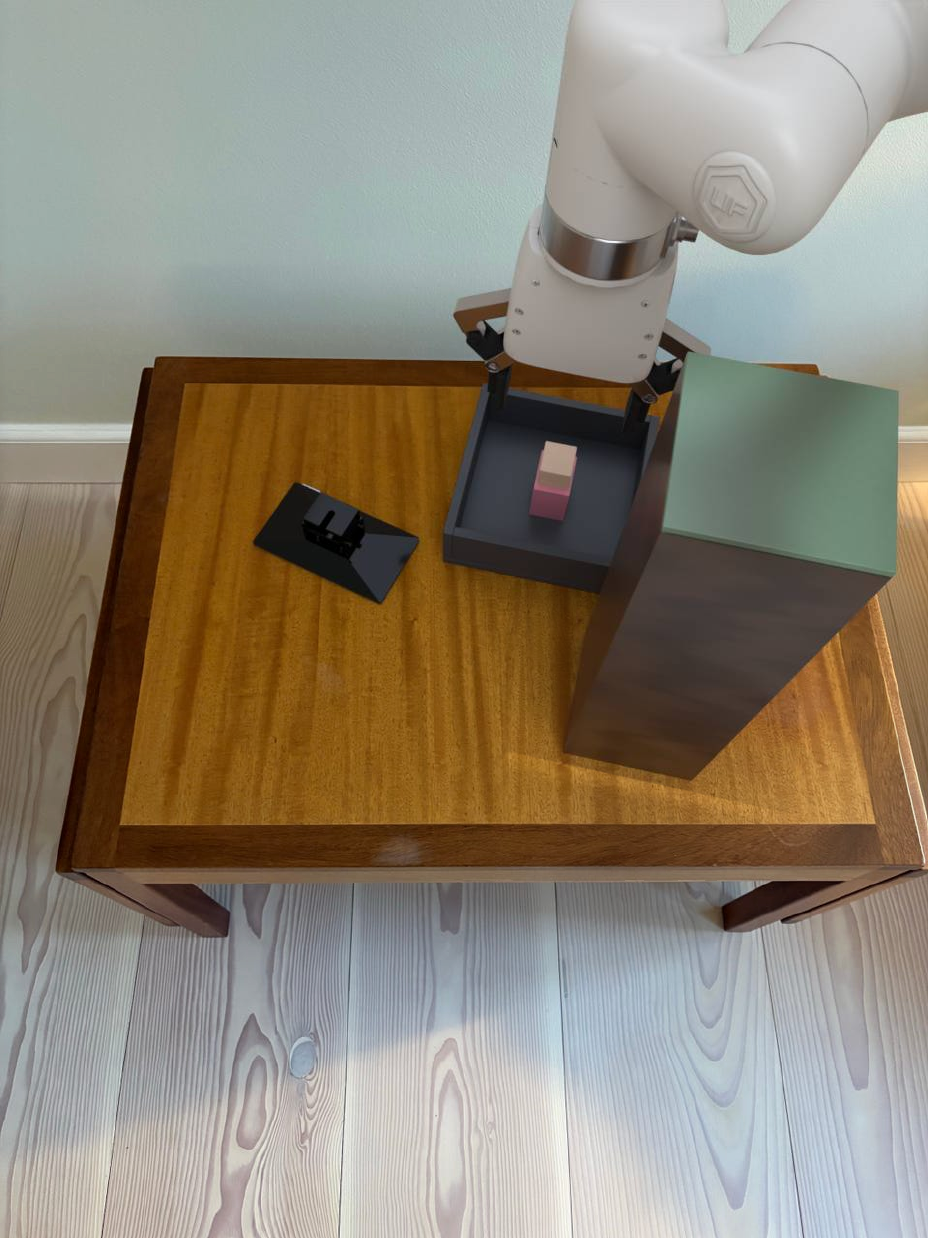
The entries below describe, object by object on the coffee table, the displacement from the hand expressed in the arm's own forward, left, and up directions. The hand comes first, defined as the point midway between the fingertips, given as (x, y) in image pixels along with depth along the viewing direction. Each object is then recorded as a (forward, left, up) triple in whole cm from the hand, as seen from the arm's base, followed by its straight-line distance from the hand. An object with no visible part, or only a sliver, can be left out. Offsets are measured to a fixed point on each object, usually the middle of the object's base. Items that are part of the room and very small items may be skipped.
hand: (564, 408), depth 67 cm
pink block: (0, 0, -12) cm, 12 cm away
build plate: (+17, +8, -13) cm, 23 cm away
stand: (-10, +17, -13) cm, 24 cm away
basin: (0, 0, -13) cm, 13 cm away
